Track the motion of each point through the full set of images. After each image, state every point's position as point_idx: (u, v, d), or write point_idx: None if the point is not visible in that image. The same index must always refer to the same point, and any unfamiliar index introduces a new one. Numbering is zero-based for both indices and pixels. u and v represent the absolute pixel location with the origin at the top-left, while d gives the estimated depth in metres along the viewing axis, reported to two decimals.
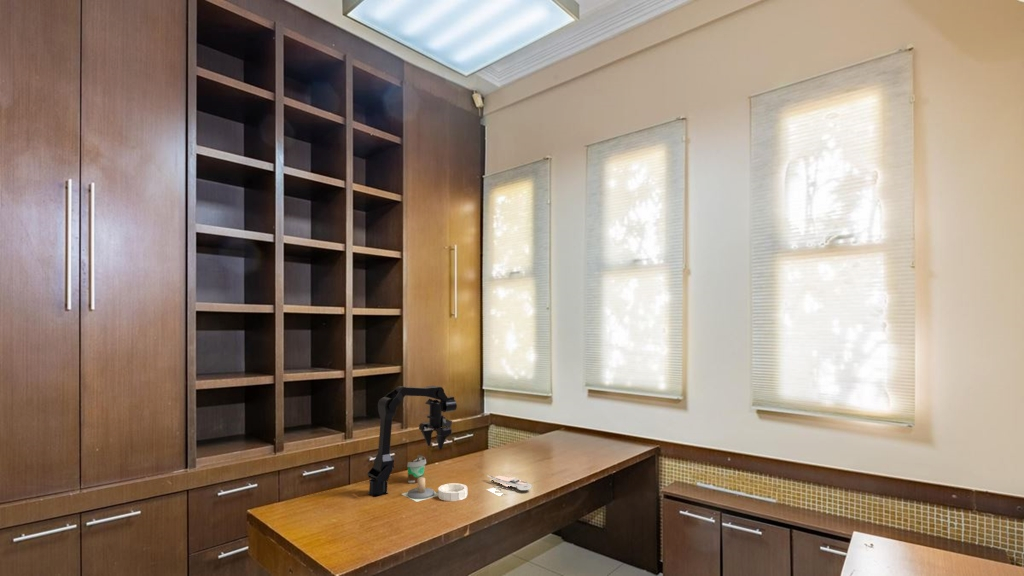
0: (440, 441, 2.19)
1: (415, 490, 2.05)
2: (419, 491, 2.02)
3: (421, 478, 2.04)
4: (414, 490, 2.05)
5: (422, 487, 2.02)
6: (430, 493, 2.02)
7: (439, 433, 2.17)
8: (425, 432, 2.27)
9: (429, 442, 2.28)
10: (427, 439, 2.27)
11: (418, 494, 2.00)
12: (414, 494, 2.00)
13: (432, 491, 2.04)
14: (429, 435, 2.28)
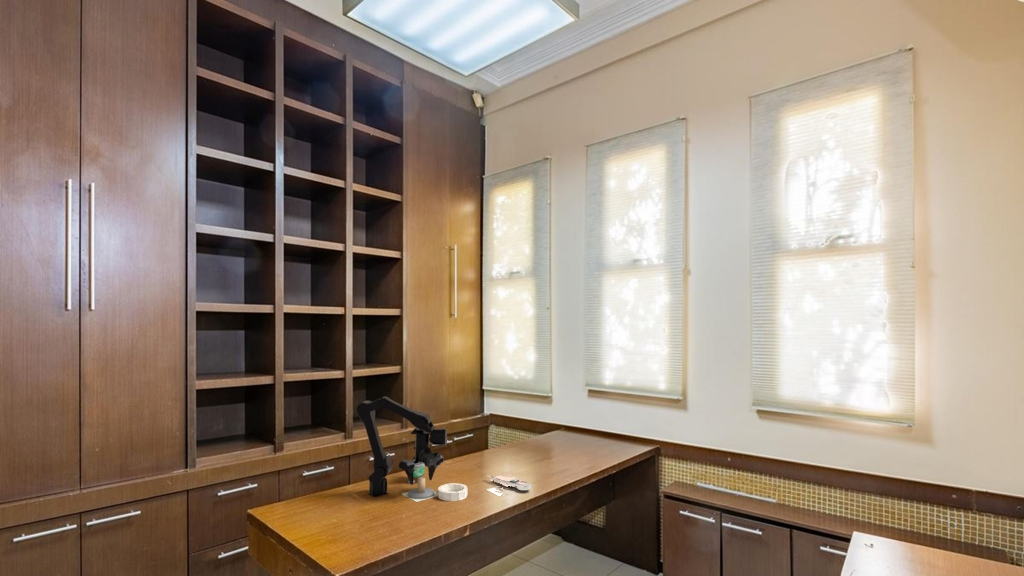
0: (407, 474, 2.01)
1: (415, 490, 2.05)
2: (419, 491, 2.02)
3: (421, 478, 2.04)
4: (414, 490, 2.05)
5: (422, 487, 2.02)
6: (430, 493, 2.02)
7: None
8: None
9: (430, 476, 2.07)
10: (429, 472, 2.08)
11: (418, 494, 2.00)
12: (414, 494, 2.00)
13: (432, 491, 2.04)
14: (431, 469, 2.07)
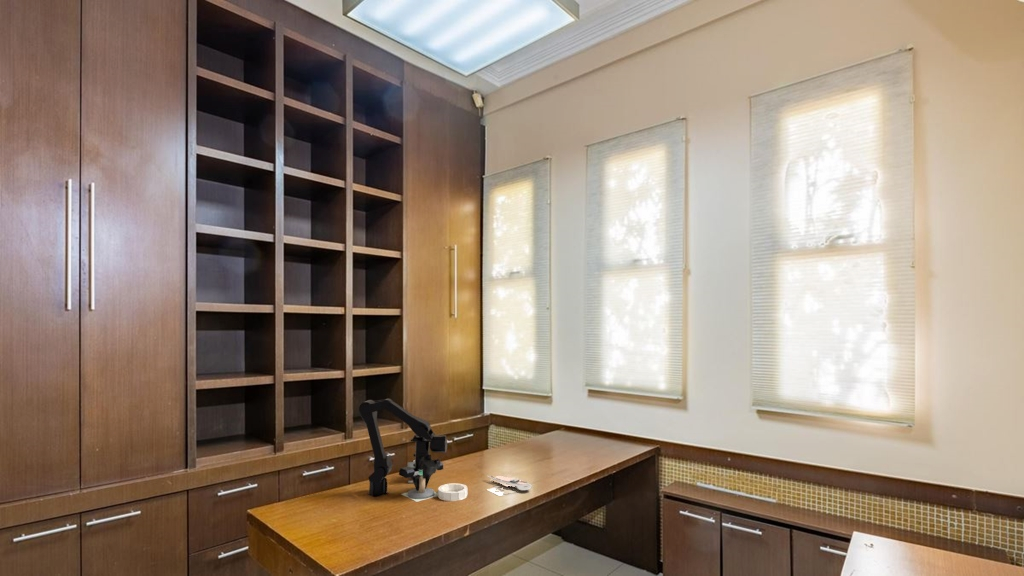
0: (413, 480, 2.02)
1: (415, 490, 2.05)
2: (419, 491, 2.02)
3: (421, 478, 2.04)
4: (414, 490, 2.05)
5: (422, 487, 2.02)
6: (430, 493, 2.02)
7: None
8: (423, 472, 2.07)
9: None
10: None
11: (418, 494, 2.00)
12: (414, 494, 2.00)
13: (432, 491, 2.04)
14: (425, 477, 2.05)
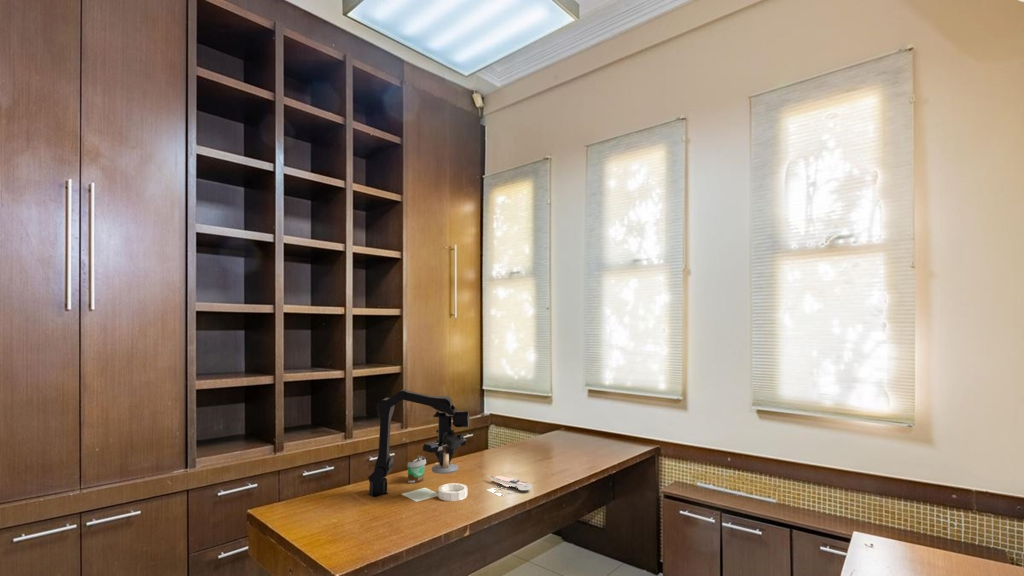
0: (437, 456, 2.02)
1: (439, 466, 2.05)
2: (443, 466, 2.02)
3: (444, 453, 2.04)
4: (438, 466, 2.05)
5: (446, 462, 2.02)
6: (454, 468, 2.02)
7: None
8: (446, 448, 2.07)
9: None
10: None
11: (442, 469, 2.00)
12: (438, 469, 2.00)
13: (456, 466, 2.04)
14: (449, 453, 2.05)
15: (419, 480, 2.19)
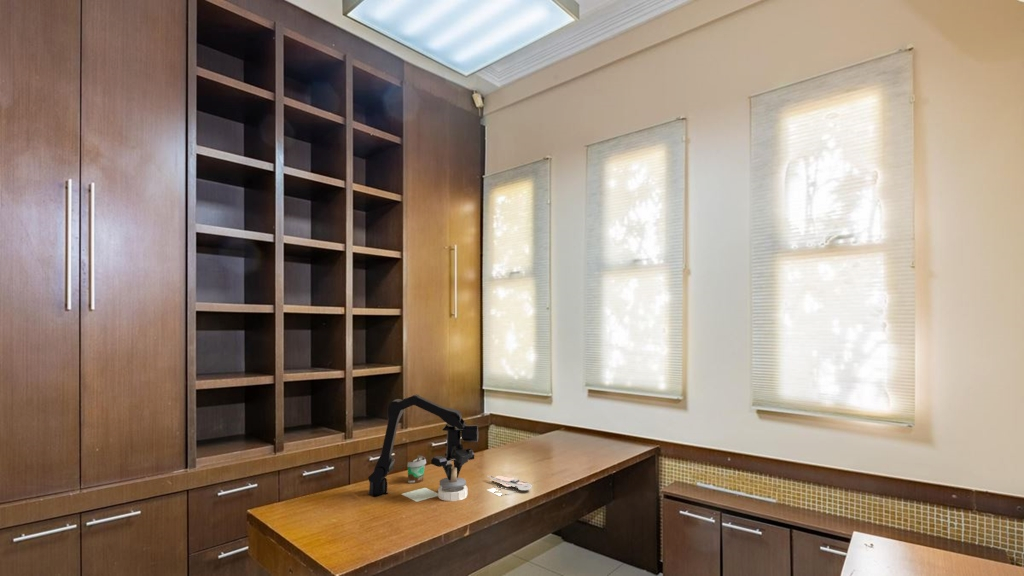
0: (445, 470, 2.02)
1: (446, 479, 2.04)
2: (451, 480, 2.01)
3: (453, 467, 2.03)
4: (445, 479, 2.04)
5: (454, 476, 2.01)
6: (462, 482, 2.01)
7: None
8: (454, 461, 2.06)
9: None
10: None
11: (450, 483, 1.99)
12: (446, 483, 1.99)
13: (464, 480, 2.03)
14: (457, 466, 2.04)
15: (419, 480, 2.19)
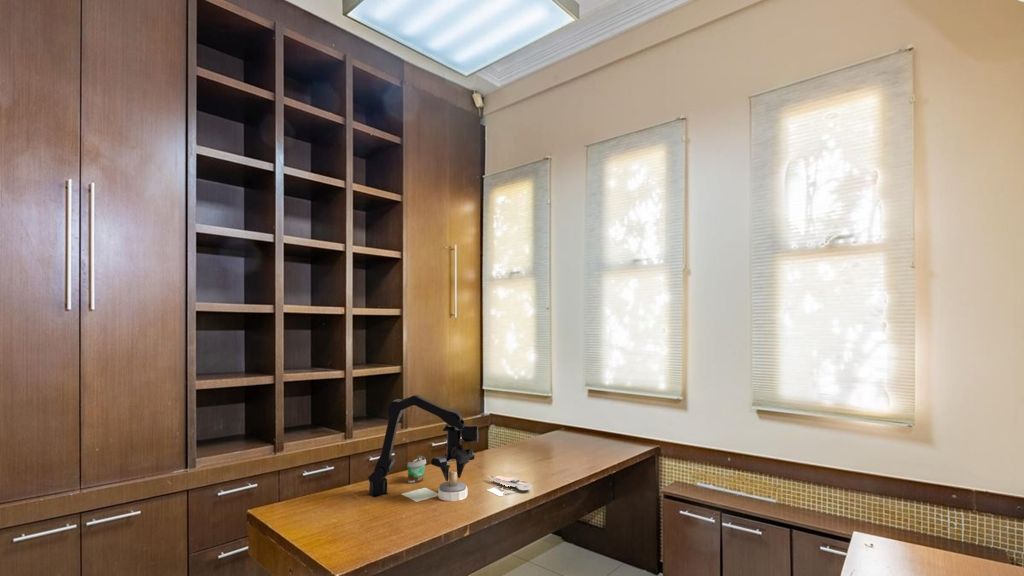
0: (443, 471, 2.01)
1: (446, 484, 2.04)
2: (451, 485, 2.01)
3: (453, 472, 2.03)
4: (445, 484, 2.04)
5: (454, 481, 2.01)
6: (462, 487, 2.01)
7: None
8: (457, 461, 2.07)
9: (458, 474, 2.05)
10: (457, 470, 2.06)
11: (450, 488, 1.99)
12: (446, 488, 1.99)
13: (464, 485, 2.03)
14: (459, 466, 2.05)
15: (419, 480, 2.19)
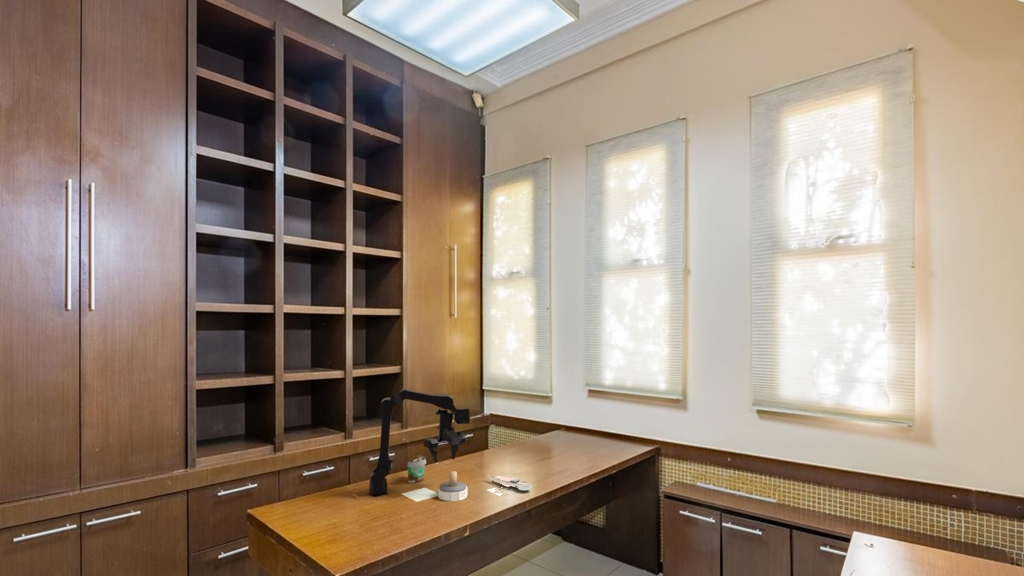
0: (431, 453, 2.07)
1: (446, 484, 2.04)
2: (451, 485, 2.01)
3: (453, 472, 2.03)
4: (445, 484, 2.04)
5: (454, 481, 2.01)
6: (462, 487, 2.01)
7: None
8: None
9: (452, 455, 2.13)
10: (452, 451, 2.14)
11: (450, 488, 1.99)
12: (446, 488, 1.99)
13: (464, 485, 2.03)
14: (454, 448, 2.13)
15: (419, 480, 2.19)
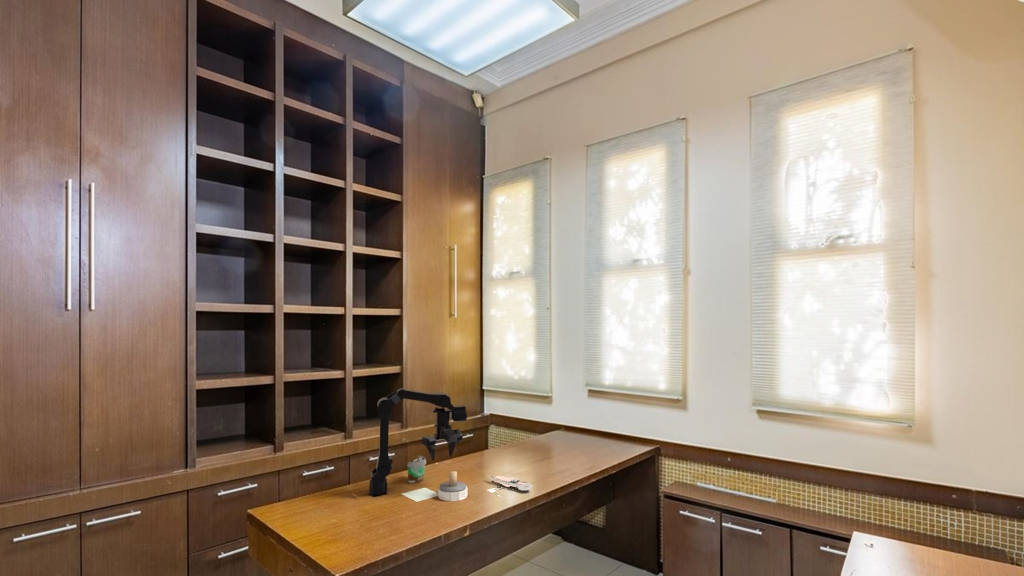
0: (429, 450, 2.09)
1: (446, 484, 2.04)
2: (451, 485, 2.01)
3: (453, 472, 2.03)
4: (445, 484, 2.04)
5: (454, 481, 2.01)
6: (462, 487, 2.01)
7: None
8: None
9: (450, 453, 2.15)
10: (449, 449, 2.16)
11: (450, 488, 1.99)
12: (446, 488, 1.99)
13: (464, 485, 2.03)
14: (451, 445, 2.16)
15: (419, 480, 2.19)
